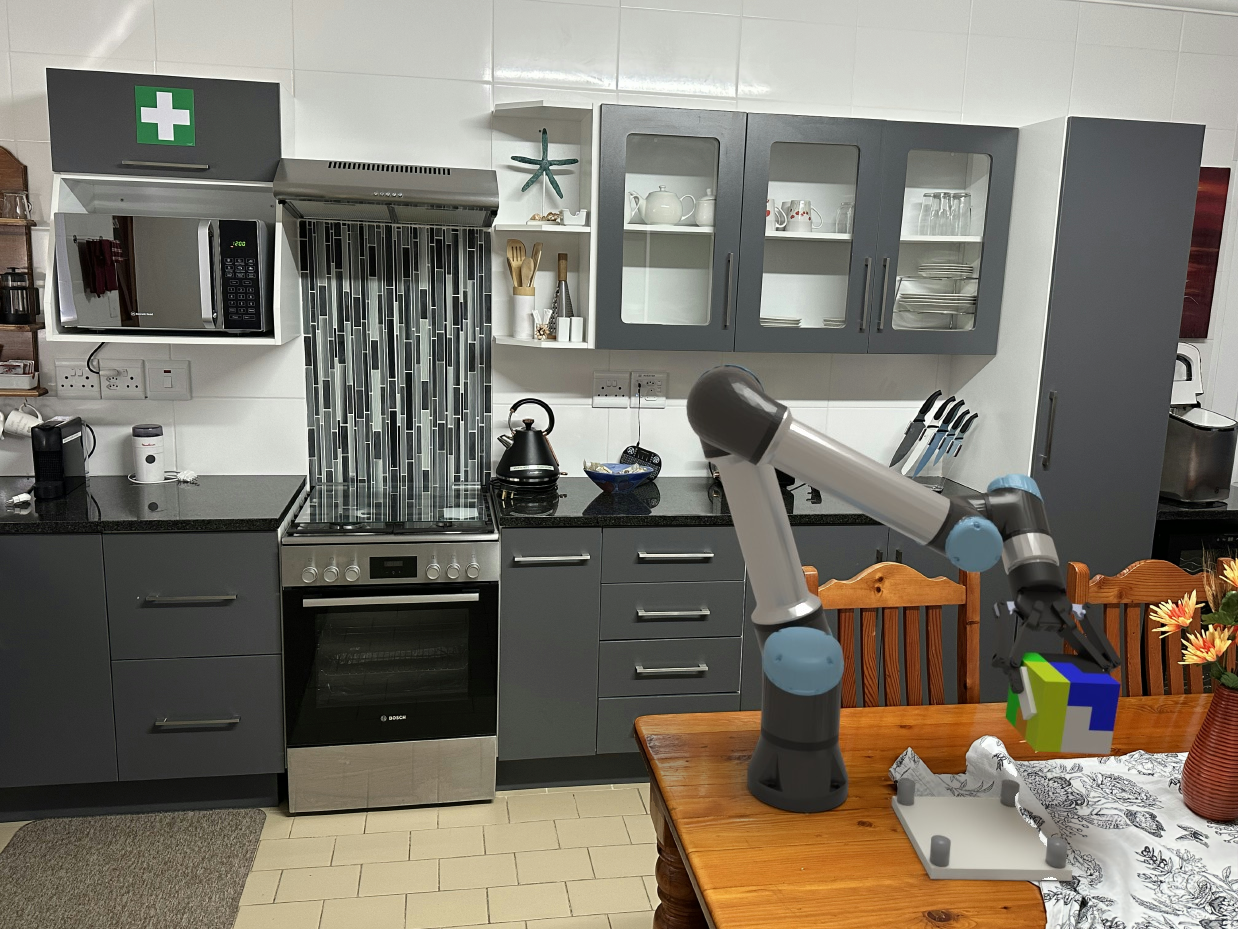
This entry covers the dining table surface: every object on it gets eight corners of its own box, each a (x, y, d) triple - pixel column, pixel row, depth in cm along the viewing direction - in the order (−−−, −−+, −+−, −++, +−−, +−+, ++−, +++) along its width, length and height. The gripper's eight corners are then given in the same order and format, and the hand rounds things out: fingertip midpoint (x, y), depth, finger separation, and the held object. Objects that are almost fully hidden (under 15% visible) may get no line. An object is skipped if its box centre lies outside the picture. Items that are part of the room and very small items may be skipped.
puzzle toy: (1109, 754, 126) (1120, 684, 125) (1035, 751, 126) (1045, 681, 124) (1074, 720, 136) (1083, 654, 134) (1005, 717, 136) (1013, 652, 134)
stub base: (930, 879, 121) (933, 846, 120) (891, 805, 139) (893, 777, 138) (1071, 881, 121) (1074, 848, 120) (1014, 807, 139) (1016, 778, 138)
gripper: (1096, 585, 143) (1138, 729, 131) (948, 579, 143) (976, 724, 130) (1120, 561, 137) (1166, 711, 125) (965, 555, 137) (997, 705, 124)
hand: (1069, 717), depth 128 cm, fingers closed on puzzle toy, 10 cm apart
